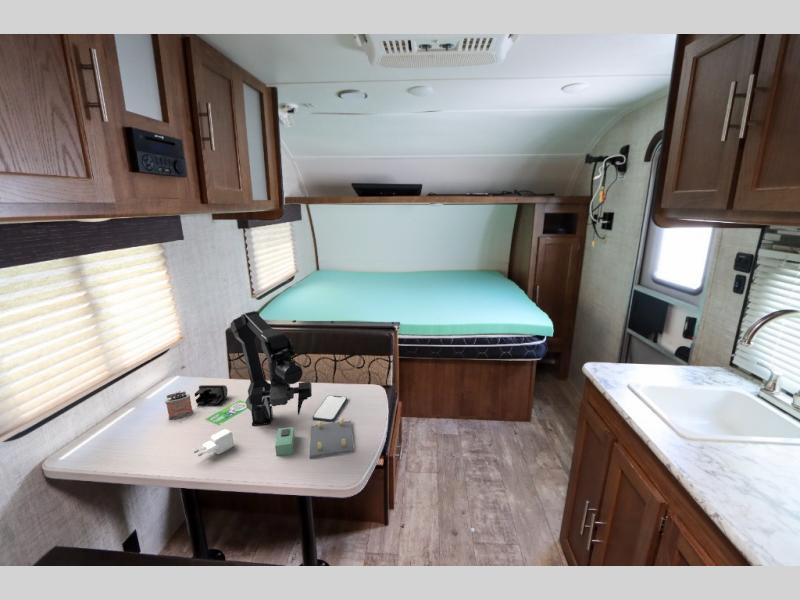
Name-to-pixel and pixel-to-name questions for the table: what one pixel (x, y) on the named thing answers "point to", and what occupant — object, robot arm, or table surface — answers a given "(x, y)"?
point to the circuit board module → (285, 441)
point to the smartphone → (330, 408)
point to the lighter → (178, 405)
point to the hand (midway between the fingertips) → (283, 415)
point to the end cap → (211, 395)
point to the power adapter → (218, 443)
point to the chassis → (331, 439)
